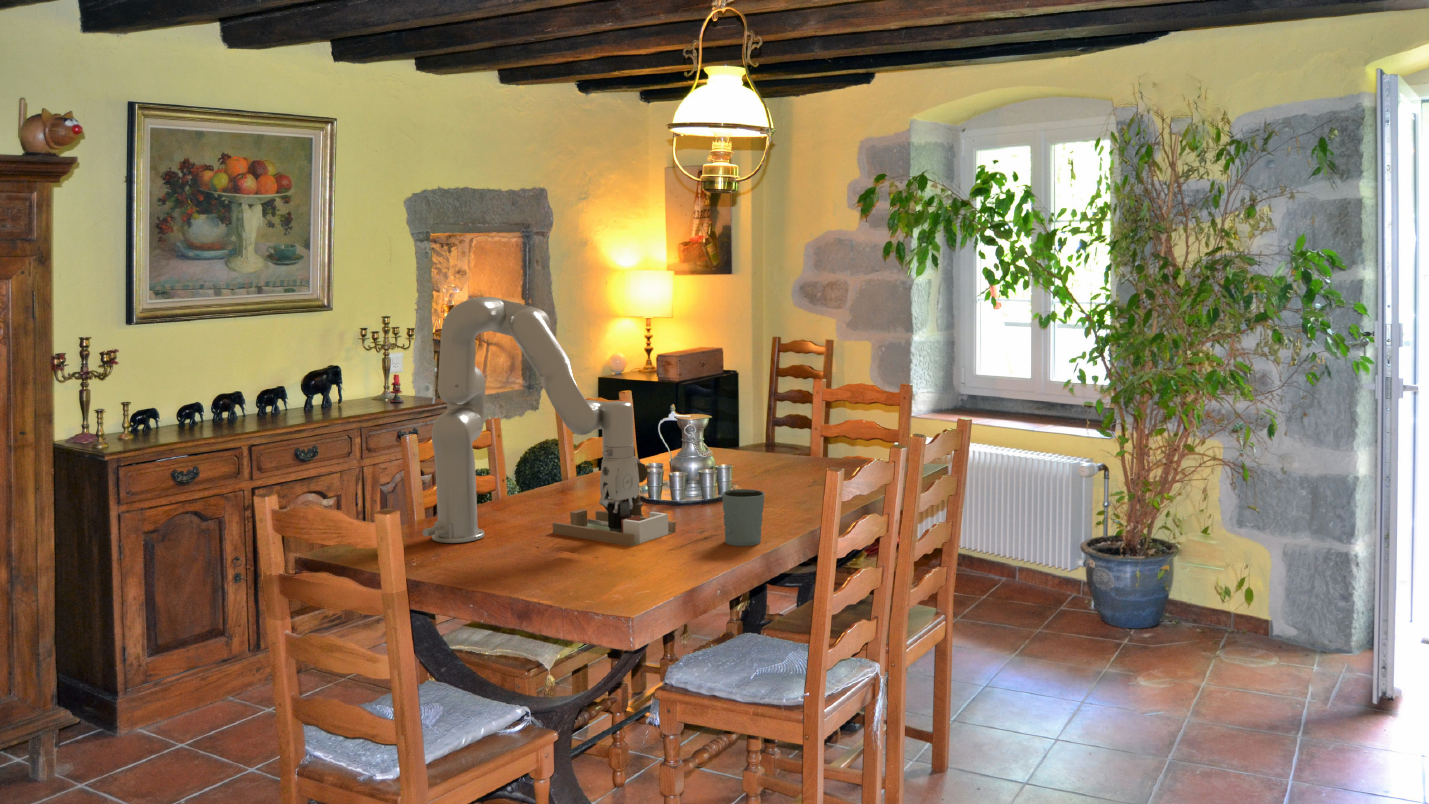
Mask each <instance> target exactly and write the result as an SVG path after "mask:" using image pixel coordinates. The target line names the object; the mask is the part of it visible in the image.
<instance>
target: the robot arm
mask: <svg viewBox="0 0 1429 804" xmlns="http://www.w3.org/2000/svg"><path fill="white" fill-rule="evenodd" d="M551 324H552V323H551V320H550V318H549V315H548V314H547V313H546V312H545V311H543V310H542V309H540V308H538V307H534V306H529V305H526V304H521V303H517V302H513V301H511V300H506V299H502V298H499V297H496V296H479V297H478V296H477V297H473V298H469V299H467V300H464V301H461V302H459V303H457V304H456V305H455V306H454V307H452V308H451V309H450V310H449V311H448V313H447V314H446V315H445V317H444V319H443V322H442V324H441V325H442V326H441V331H440V345H439V347H440V350H439V360H438V377H437V378H438V379H437V393H438V395H439V397H440V399H441V400H442V401H443V402H444V403H446V411H445V412H442V413H441V414H440V415H439V416H438V417H437V418H436V419H435V420H434V422H433V425H432V426H431V427H432V428H431V443H432V447H433V448H432V449H433V457H434V466H435V484H436V485H435V486H436V507H437V508H436V510H437V521H434V525H432V527H428V528H424V529H423V530H422V535H423V536H424V537H426V538H427V537H431V539H432V540H433V542H434V541H435V542H437V543H441V544H442V543H443V544H444V543H445V544H458V543H459V544H460V543H468V542H473V541H477V540H481V539H483V538H484V537H485V531H484V530H483V529H481V528H479V527H478V505H477V504H478V502H477V500H478V499H477V479H476V478H477V477H476V475H477V474H476V460H475V454H474V448H473V442H474V441H476V440H477V439H478V438H479V437H480V435H481V434H482V432H483V429H484V423H485V404H486V379H485V376H484V374H483V373H482V371H481V369H480V368H478V367H477V366H476V354H477V351H476V350H477V347H476V337H477V335H479V334H481V333H486V332H487V333H488V332H492V333H497V334H501V335H505V336H509V337H512V339H513V340H514V341H515V343H516V344H517V346H518V348H519V349H520V350H521V352H522V354H523V355H524V356H525V358H526V359H527V361H528V363H529V364H530V365H531V367H532V368H533V370H534V372H535V373H536V375H537V376H538V378H539V380H540V383H541V385H542V388H543V389H544V392H545V393H546V395H547V398H548V399H549V402H550V403H551V405H552V406H553V408H554V410H555V411H556V413H557V414H558V416H559V417H560V419H561V420H562V422H563V423H564V425H565V426H566V428H567V429H569V431H571V432H572V433H574V434H575V435H578V436H587V435H589V434H591V433H592V432H594V431H596V430H601V431H602V432H601V433H602V435H601V437H602V452H601V454H602V459H601V464H600V465H601V466H600V467H601V468H600V477H599V480H600V481H599V482H600V483H599V489H600V490H599V492H600V499H599V503H598V504H599V505H600V506H602V507H603V508H604V509H605V512H608V527H609V528H613V529H619V528H620V514H619V513H617V512H618V502H619V501H627V502H630V517H631V509H632V508H633V502H634V500H635V499H636V497H637V496H638V495H639V496H640V490H641V489H640V483H639V473H638V466H637V461H636V458H637V456H636V455H635V456H634V447H635V446H634V444H635V442H634V441H635V440H634V408H633V405H632V403H631V402H629V401H626V400H625V401H624V400H623V401H622V400H621V401H620V400H614V401H600V400H594V399H586V398H585V397H584V395H583V393H582V392H581V390H580V388H579V386H578V385H577V383H576V381H575V379H574V376H573V372H572V364H571V360H570V358H569V355H568V354H567V353H566V351H565V350H564V349H563V347H562V346H561V344H560V342H559V341H558V340H557V338H556V336H555V335H554V334H553V332H552V330H551V326H552V325H551ZM611 502H614V505H612V504H611Z"/></svg>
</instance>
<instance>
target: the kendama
mask: <svg viewBox="0 0 1429 804" xmlns="http://www.w3.org/2000/svg"><path fill="white" fill-rule="evenodd" d="M634 456H635V457H636V448H635V446H634ZM636 461H637V466H638V473H639V484H642V483H643V482H645V481H646V479H647V478H648V474H649V471H648V467H647V465H646V464H644V463H643V462H641V460H640V459H639V458H638V457H636ZM642 507H643V502H642V501H641V498H640V494H639V495H638V496H637V497H636V499H635V500H634V502H633V508H632V509H631V515H633V516H636V515H639V516H640V517H644V516H643V513H642Z"/></svg>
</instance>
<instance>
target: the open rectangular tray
mask: <svg viewBox="0 0 1429 804" xmlns="http://www.w3.org/2000/svg"><path fill="white" fill-rule="evenodd" d="M569 515H570V524H569V523H561V522H556V521H555V522H552V534H557V535H561V536H562V535H563V536H569V537H574V538H580V539H586V540H592V541H597V542H604V543H611V544H614V545H615V544H616V545H622V546H628V547H634V546H636V545H640V544H643V543H646V542H649V541H651V540H656V539H658V538H662V537H664V536H668V535H671V534H674V533H676V532H677V528H676V526H677V523H676V521H672V520H669V514H668V513H663V512H657V511H650V512H648V515H649V516H648V517H645V516H643V517H640V521H633V520H627V519H625V520H623V533H620V532H614V531H610V528H609V527H607V526H600V525H594V524H588V522H587V521H588V510H587V509H583V508H582V509H581V508H580V509H577V510H574V511H570V513H569ZM632 516H633V515H631V517H632ZM595 520H600V521H606V522H608V512H606V510H605V511H604V510H595Z"/></svg>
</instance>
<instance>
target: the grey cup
mask: <svg viewBox="0 0 1429 804" xmlns="http://www.w3.org/2000/svg"><path fill="white" fill-rule="evenodd" d="M721 496H722V510H723V513H724V515H723V526H724V541H725V544H727V545H730V546H733V547H751V546H755V545H756V546H757V545H759V544H760V543H761V541H762V526H763V512H764V504H765V503H764V502H765V492H764V491H761V490H756V489H749V488H748V489H747V488H746V489H744V488H742V489H740V488H739V489H737V488H736V489H727V490H725V491H722V492H721Z"/></svg>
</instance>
